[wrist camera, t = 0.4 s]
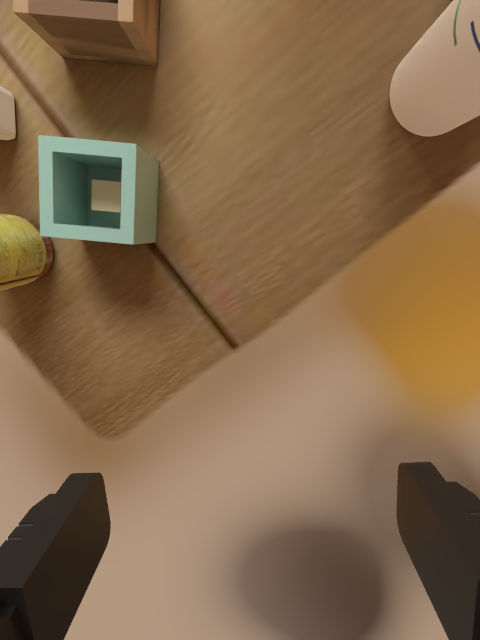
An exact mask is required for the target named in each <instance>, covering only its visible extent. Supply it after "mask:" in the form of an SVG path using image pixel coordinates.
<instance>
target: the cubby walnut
mask: <svg viewBox="0 0 480 640" xmlns="http://www.w3.org/2000/svg"><path fill="white" fill-rule="evenodd" d="M13 11H14V13H15V14H16V15H17V16H19V17H20V18H21V19H22V20H23V21H24V22H25V23H26V24H27V25H28V26H29V27H30V28H32V29H33V30H34V31H35V32H36V33H37V34H38V35H39V36H40V37H41V38H42V39H43V40H45V41H46V42H47V43H48V44H49V45H50V46H51V47H52V48H53V49H54V50H55V51H56V52H58V53H59V54H60V55H61V56H62V57H63V58H71V59H83V60H94V61H106V62H117V63H128V64H140V65H151V66H158V50H159V25H160V0H13Z"/></svg>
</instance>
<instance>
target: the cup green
mask: <svg viewBox="0 0 480 640" xmlns="http://www.w3.org/2000/svg"><path fill="white" fill-rule="evenodd" d="M38 151H39V202H40V236H47V237H58V238H68V239H79V240H90V241H100V242H111V243H122V244H132V245H134V244H145V243H156V233H157V210H158V187H159V164H160V162H159V161H158V160H157V159H156V158H154V157H153V156H152V155H150V154H149V153H148V152H146V151H145V150H144V149H143V148H141V147H140V146H139V145H137V144H133V143H121V142H110V141H99V140H88V139H77V138H66V137H55V136H44V135H38Z"/></svg>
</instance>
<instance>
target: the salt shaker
mask: <svg viewBox="0 0 480 640" xmlns="http://www.w3.org/2000/svg"><path fill="white" fill-rule="evenodd" d="M15 136H16V126H15V105H14V97H13V94H12V93H11V92H10V91H8V90H7V89H5V88H3V87H1V86H0V140H11V139H14V138H15Z"/></svg>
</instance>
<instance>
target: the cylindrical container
mask: <svg viewBox="0 0 480 640" xmlns="http://www.w3.org/2000/svg"><path fill="white" fill-rule="evenodd" d="M389 97H390V105H391V108H392V112H393V114H394V116H395V118H396V120H397V121H398V122H399V123H400V124H401V126H402V127H404V128H405V129H406V130H407V131H409V132H411V133H413V134H415V135H420V136H424V137H429V136H437V135H442V134H444V133H446V132H449V131H451V130H453V129H455V128H456V127H458V126H460V125H462V124H464V123H466V122H468V121H470V120H472V119H474V118H476V117H478V116H479V115H480V0H453V1H452V2H451V3H450V5H449V6H448V7H447V8H446V9H445V10H444V12H443V13H442V14H441V15H440V16H439V17H438V19H437V20H436V21H435V22H434V23H433V24H432V26H431V27H430V28H429V29H428V30H427V31H426V33H425V34H424V35H423V36H422V37H421V38H420V40H419V41H418V42H417V43H416V44H415V45H414V47H413V48H412V49H411V50H410V51H409V52H408V54H407V55H406V56H405V57H404V58H403V59H402V61H401V62H400V64H399V65H398V66H397V68H396V70H395V72H394V75H393V77H392V81H391V85H390V94H389Z"/></svg>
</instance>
